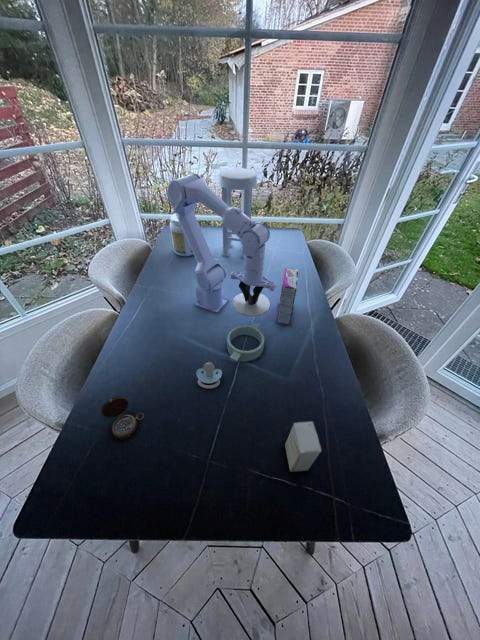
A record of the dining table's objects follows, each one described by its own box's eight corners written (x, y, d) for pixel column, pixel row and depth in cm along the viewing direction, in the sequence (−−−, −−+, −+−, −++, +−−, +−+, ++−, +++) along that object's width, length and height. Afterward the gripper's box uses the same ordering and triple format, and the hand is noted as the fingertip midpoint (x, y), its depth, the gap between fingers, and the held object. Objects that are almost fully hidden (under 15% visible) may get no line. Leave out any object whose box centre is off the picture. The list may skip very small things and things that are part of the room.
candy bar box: (278, 303, 102) (284, 267, 91) (291, 305, 101) (299, 269, 90) (275, 323, 94) (281, 286, 83) (289, 325, 93) (297, 288, 82)
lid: (225, 310, 87) (225, 298, 84) (242, 290, 95) (242, 278, 92) (261, 322, 83) (262, 310, 80) (275, 300, 92) (276, 288, 88)
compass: (116, 445, 63) (106, 431, 58) (106, 418, 68) (96, 404, 63) (149, 425, 66) (142, 411, 61) (137, 402, 71) (130, 387, 66)
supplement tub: (195, 243, 136) (191, 209, 124) (202, 254, 128) (199, 219, 116) (171, 247, 132) (165, 213, 120) (177, 259, 124) (171, 224, 112)
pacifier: (220, 390, 74) (222, 372, 79) (220, 378, 70) (222, 359, 74) (194, 388, 75) (198, 370, 79) (192, 376, 70) (196, 358, 74)
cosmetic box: (284, 444, 64) (292, 421, 55) (302, 443, 64) (313, 420, 56) (290, 473, 59) (299, 452, 51) (309, 471, 60) (322, 451, 51)
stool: (224, 242, 137) (222, 166, 112) (253, 245, 135) (258, 168, 111) (218, 258, 125) (215, 177, 101) (250, 261, 124) (255, 179, 100)
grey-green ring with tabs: (216, 359, 82) (216, 350, 79) (240, 325, 93) (240, 316, 90) (250, 373, 78) (251, 364, 75) (271, 336, 90) (272, 327, 87)
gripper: (281, 265, 79) (276, 300, 89) (237, 254, 83) (237, 288, 93) (273, 277, 74) (268, 313, 84) (227, 264, 79) (227, 300, 88)
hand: (251, 301), depth 88 cm, fingers closed on lid, 2 cm apart
